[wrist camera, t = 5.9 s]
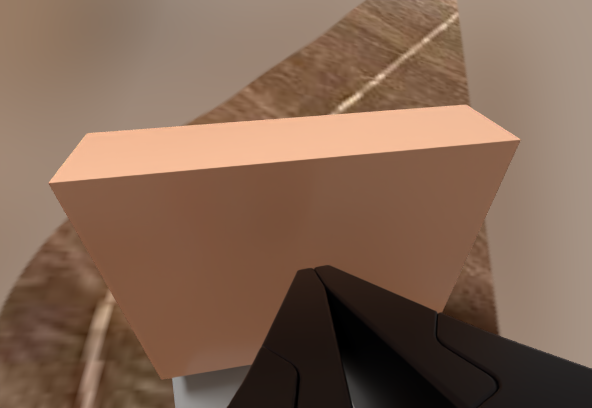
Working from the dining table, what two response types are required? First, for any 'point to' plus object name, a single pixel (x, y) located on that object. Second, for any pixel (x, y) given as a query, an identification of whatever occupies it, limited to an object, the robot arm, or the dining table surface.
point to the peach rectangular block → (276, 217)
